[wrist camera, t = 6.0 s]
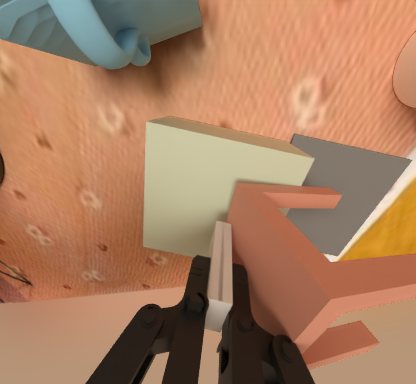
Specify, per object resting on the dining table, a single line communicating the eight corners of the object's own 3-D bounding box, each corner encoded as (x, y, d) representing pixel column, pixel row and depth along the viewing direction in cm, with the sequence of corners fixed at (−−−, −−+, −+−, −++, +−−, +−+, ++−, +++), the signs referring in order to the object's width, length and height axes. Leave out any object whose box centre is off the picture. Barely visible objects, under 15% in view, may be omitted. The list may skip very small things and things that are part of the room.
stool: (215, 260, 18) (255, 386, 10) (236, 182, 14) (331, 299, 6) (291, 254, 20) (367, 351, 13) (329, 187, 16) (475, 273, 9)
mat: (251, 236, 27) (251, 238, 27) (294, 133, 20) (295, 134, 20) (336, 254, 28) (337, 256, 27) (409, 159, 20) (412, 160, 20)
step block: (162, 212, 27) (142, 246, 20) (170, 115, 20) (146, 121, 14) (250, 231, 27) (258, 271, 21) (286, 141, 21) (314, 158, 14)
